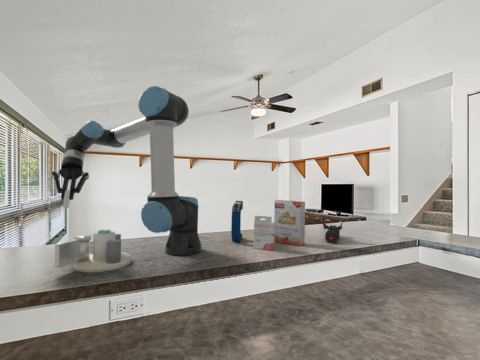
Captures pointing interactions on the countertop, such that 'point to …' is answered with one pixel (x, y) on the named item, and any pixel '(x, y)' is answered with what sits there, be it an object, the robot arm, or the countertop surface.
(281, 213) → the cracker box
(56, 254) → the wing knob
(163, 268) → the countertop surface
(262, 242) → the ink cartridge box
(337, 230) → the horned monster figurine
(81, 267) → the base
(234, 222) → the handheld scanner
